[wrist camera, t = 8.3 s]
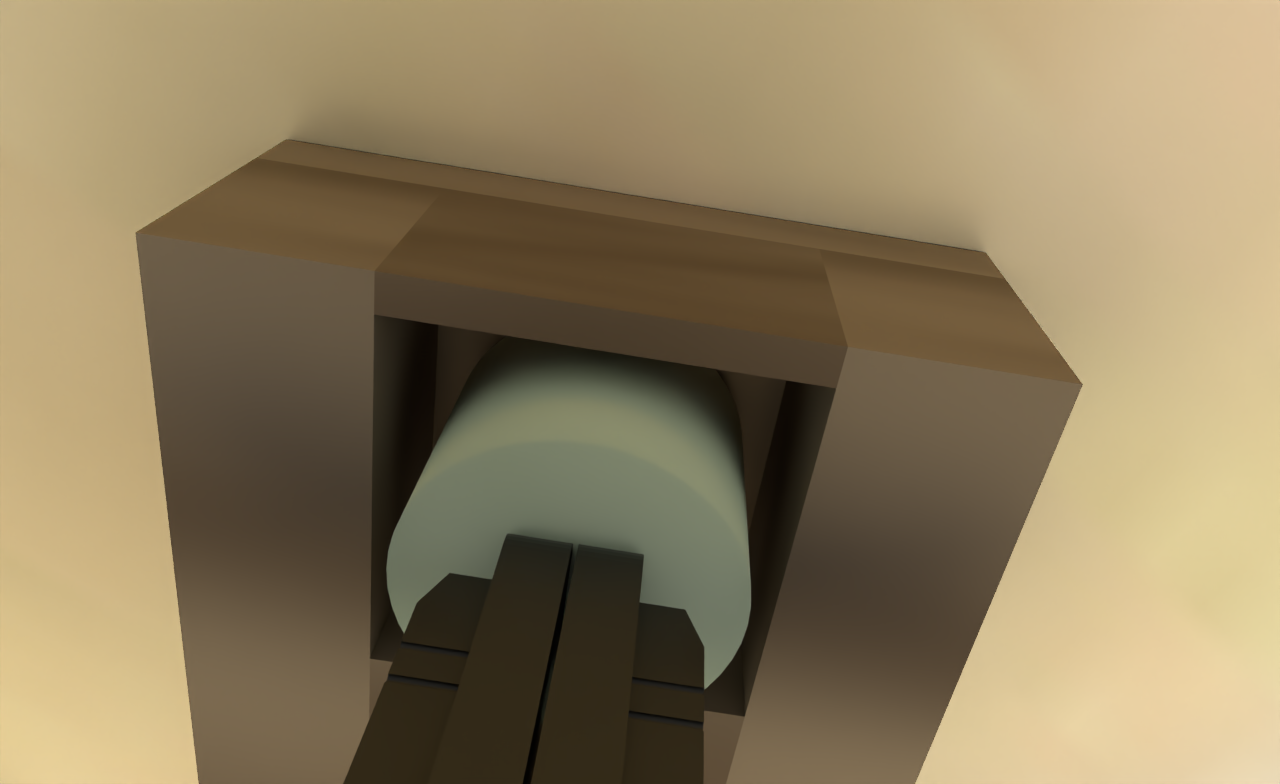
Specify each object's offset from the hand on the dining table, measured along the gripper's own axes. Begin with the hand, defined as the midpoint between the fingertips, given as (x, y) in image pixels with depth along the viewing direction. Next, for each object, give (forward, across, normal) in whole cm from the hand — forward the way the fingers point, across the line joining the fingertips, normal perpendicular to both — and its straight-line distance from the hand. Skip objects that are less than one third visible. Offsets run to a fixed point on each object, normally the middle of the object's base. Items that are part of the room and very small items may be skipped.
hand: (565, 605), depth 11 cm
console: (+5, 0, +7) cm, 8 cm away
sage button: (+3, 0, 0) cm, 3 cm away
